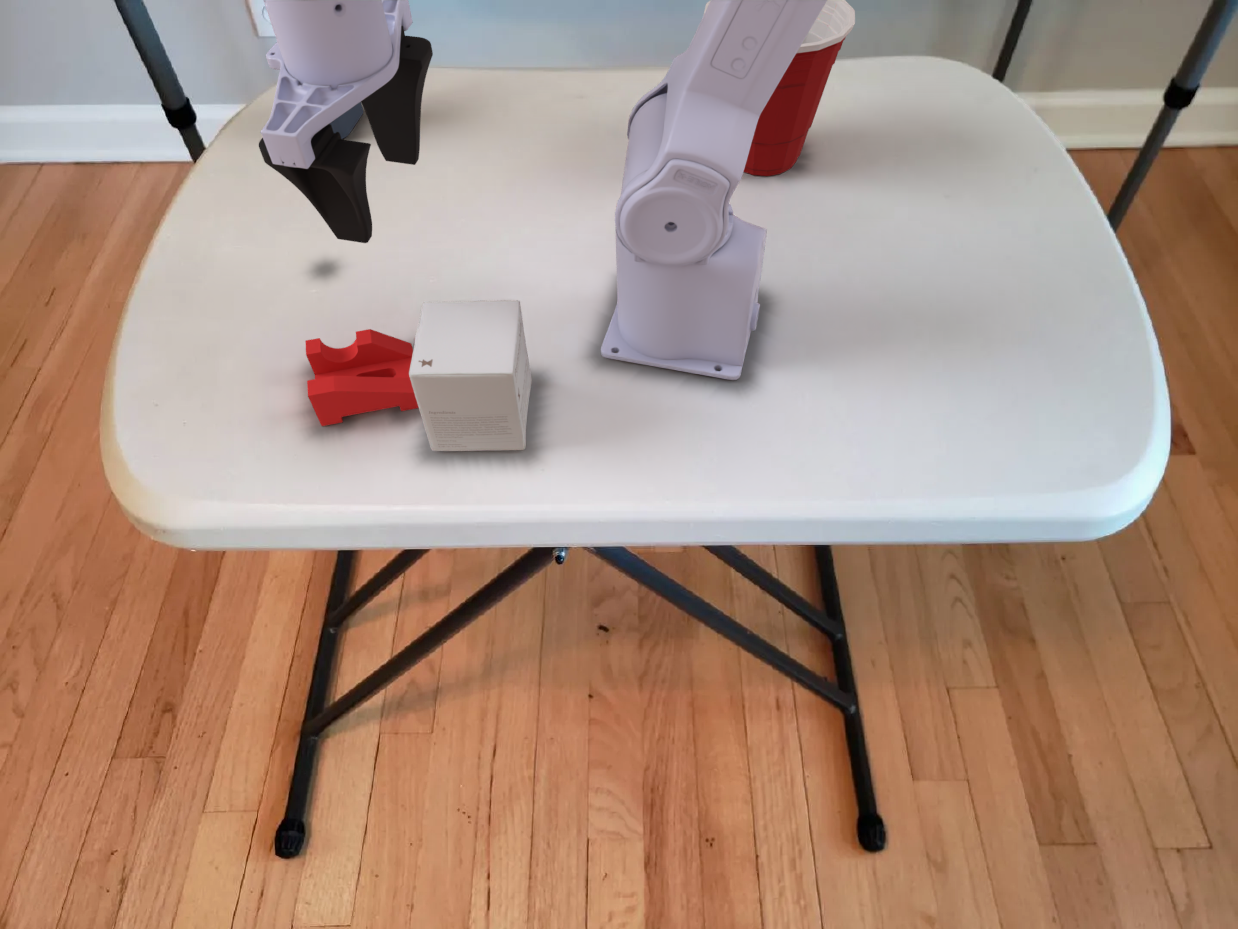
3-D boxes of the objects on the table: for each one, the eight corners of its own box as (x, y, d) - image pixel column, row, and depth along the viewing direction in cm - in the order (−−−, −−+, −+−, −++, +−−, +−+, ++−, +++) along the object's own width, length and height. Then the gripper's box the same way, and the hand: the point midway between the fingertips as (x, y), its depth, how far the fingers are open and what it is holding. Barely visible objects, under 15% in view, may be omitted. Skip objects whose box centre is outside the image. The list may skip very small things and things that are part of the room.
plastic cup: (817, 112, 78) (842, -33, 68) (840, 192, 71) (871, 44, 62) (690, 117, 78) (696, -28, 68) (701, 197, 71) (710, 51, 62)
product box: (526, 453, 57) (513, 374, 51) (429, 454, 57) (405, 375, 51) (533, 379, 60) (521, 298, 55) (441, 380, 61) (420, 298, 55)
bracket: (321, 426, 58) (307, 395, 56) (318, 371, 61) (305, 340, 59) (421, 407, 59) (412, 376, 57) (414, 354, 62) (405, 322, 60)
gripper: (304, -100, 50) (365, 121, 61) (167, 38, 42) (266, 265, 53) (425, -89, 49) (465, 134, 60) (308, 55, 41) (379, 283, 52)
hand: (379, 197), depth 56 cm, fingers open, 7 cm apart
